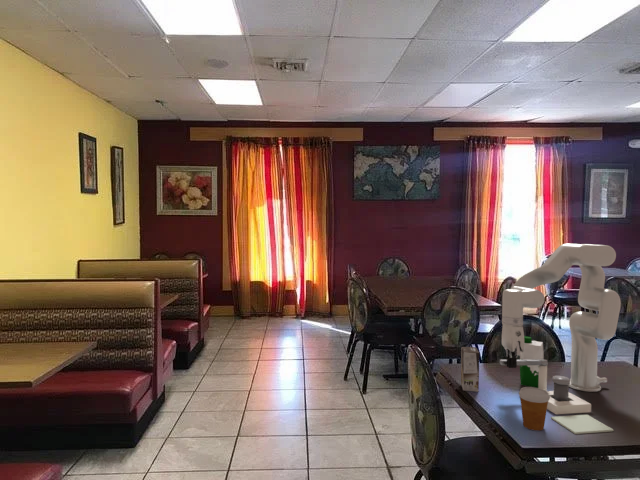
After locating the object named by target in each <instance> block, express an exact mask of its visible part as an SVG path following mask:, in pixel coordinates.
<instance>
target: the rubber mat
mask: <svg viewBox="0 0 640 480" xmlns="http://www.w3.org/2000/svg"><path fill="white" fill-rule="evenodd" d="M550 418H551V420H553V421H554V422H556V423H557V424H559V425H561V426H562V427H563V428H565V429H567V430H568V431H569V432H571V433H573V434H574V435H581V434H594V433H607V432H609V433H610V432H614V429H613V428H612V427H610V426H608V425H606V424H605V423H603V422H601V421H599V420H598V419H596V418H594V417H592V416H591V415H589V414H576V415H573V414H572V415H559V416H551V417H550Z"/></svg>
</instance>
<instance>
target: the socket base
mask: <svg viewBox="0 0 640 480" xmlns="http://www.w3.org/2000/svg"><path fill="white" fill-rule="evenodd" d="M547 384H548V365H547V366H542V365H539V382H538V388H539V389H543V390H545V391H547V392H548V395H549V397H550V399H549V401H548V405H547V410H548V411H550V412H552V413H553V414H555V415H569V414H582V413H583V414H584V413H592V403H590V402H588V401H586V400H585V399H583V398H580V397H579V396H577V395H575V394H574V393H571V392H569V395H568V401H560V402H559V401H557V400H555V399H553V393H554V390H548V389H547V387H548V385H547Z"/></svg>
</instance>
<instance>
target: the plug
mask: <svg viewBox="0 0 640 480" xmlns="http://www.w3.org/2000/svg"><path fill="white" fill-rule="evenodd" d="M570 379H571V378H569V377H568V376H563V375H554V376H552V383H553V391H554V393H553V399H555V400H557V401H559V402H560V401H568V395H569V393H570V392H569V388H570V387H569V384H570Z"/></svg>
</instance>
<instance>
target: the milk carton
mask: <svg viewBox="0 0 640 480" xmlns="http://www.w3.org/2000/svg"><path fill="white" fill-rule="evenodd" d="M532 338H533V337H531V336H528V335H524V351H523V352H522V351H520V356H519V360H539V359H544V354H545V353H544V342H543V341H537V340H533V339H532ZM544 360H545V359H544ZM519 378H520V379H519V381H520V386H523V387H524V386H525V387H534V388H538V382H539V365H519Z"/></svg>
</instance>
